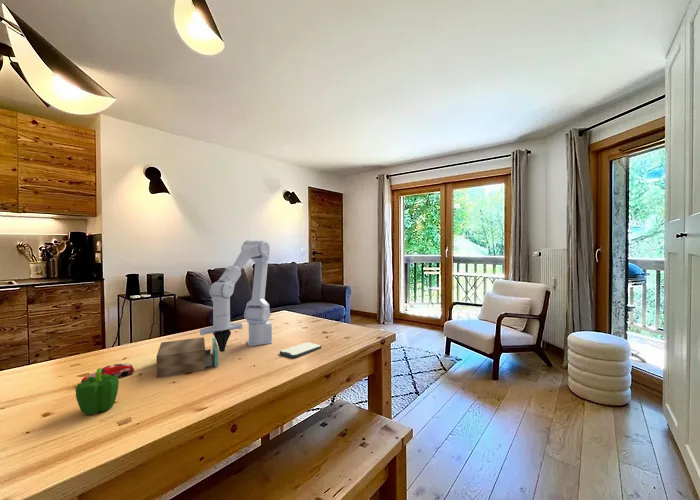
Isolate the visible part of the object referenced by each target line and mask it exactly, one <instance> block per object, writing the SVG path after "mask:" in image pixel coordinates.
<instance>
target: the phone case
mask: <svg viewBox="0 0 700 500" xmlns="http://www.w3.org/2000/svg"><path fill="white" fill-rule="evenodd" d="M321 349H322V345H321V344H318V343H314V342H309V341H307V342H302V343H299V344H297V345H294V346H291V347H288V348H284V349H281V350H280V351H279V355H280V356H282V357H283V356H284V357H286V358H289V359H294V360H295V359H298V358H300V357H302V356H303V357H304V356H305V355H308V354H311V353H313V352H316V351H318V350H321Z"/></svg>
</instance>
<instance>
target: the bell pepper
mask: <svg viewBox="0 0 700 500" xmlns="http://www.w3.org/2000/svg"><path fill="white" fill-rule="evenodd" d="M102 368H103V367H98V368H96V377H89V378H88V379H86V380H85V381H84V382H82V383H81V382H80V383H77V386H76V387H75V399H76V401H77V404H78V407H79V409H80V411H81V412H82V413H83V414H84V415H86V416H91V415H95V414H98V413H99V412H105V411H109V410H110V409H112V407H114V405H115V402H116V399H117V395H118V391H119V385H120V383H119V382H120V381H119V379H120V378H118V377H117V376H111V375H108V374H103V375H101V370H102Z"/></svg>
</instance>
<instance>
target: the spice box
mask: <svg viewBox="0 0 700 500" xmlns="http://www.w3.org/2000/svg"><path fill="white" fill-rule="evenodd" d="M205 350H206V344H205V337H204V336H202V337H195V338H187V339H180V340H179V339H178V340H177V339H176V340H170V341H161V343H160V346H159V347H158V351H157V353H156V358H155V359H156V378H163V377H169V376H174V375H181V374H186V373H192V372H198V371H205V370H206V367H205Z"/></svg>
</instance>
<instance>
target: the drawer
mask: <svg viewBox="0 0 700 500" xmlns="http://www.w3.org/2000/svg"><path fill="white" fill-rule="evenodd" d="M211 340H212V341H211V342H212V346H211V347H212V349H205V368H208V367H213V365H214V367H216V368H217V367H219V347H218V343H217V341H216V338H215V337H212V339H211ZM211 350H212V353H211ZM211 354H212V356H213V357H212V356H211ZM212 358H213V359H212ZM213 363H214V364H213Z"/></svg>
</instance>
